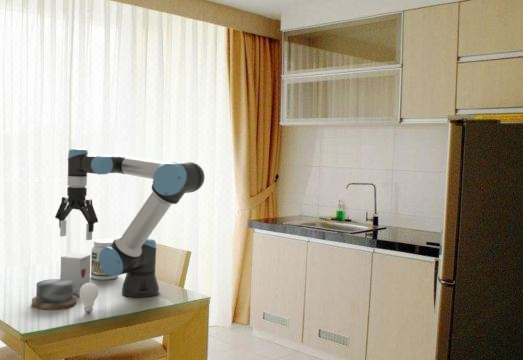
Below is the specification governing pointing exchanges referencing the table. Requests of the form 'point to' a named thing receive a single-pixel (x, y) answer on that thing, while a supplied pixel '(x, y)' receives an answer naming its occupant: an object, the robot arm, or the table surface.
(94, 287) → the light bulb
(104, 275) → the supplement tub
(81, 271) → the supplement box
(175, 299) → the table surface
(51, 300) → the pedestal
